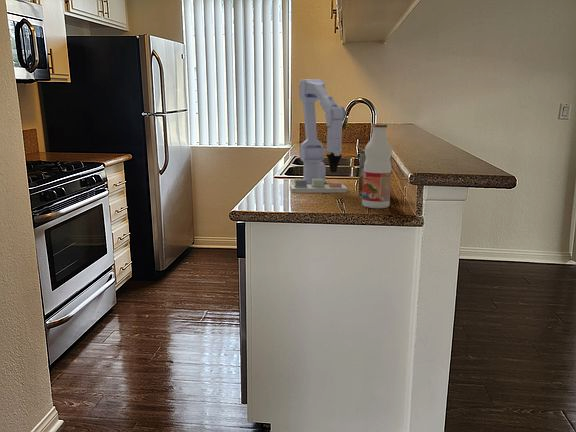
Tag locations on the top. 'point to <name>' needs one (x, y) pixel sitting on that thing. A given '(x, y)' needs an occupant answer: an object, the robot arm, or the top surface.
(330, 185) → the key terracotta
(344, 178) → the top surface
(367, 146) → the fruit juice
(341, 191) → the keypad
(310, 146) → the robot arm
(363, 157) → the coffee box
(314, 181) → the key sage
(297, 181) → the key slate
